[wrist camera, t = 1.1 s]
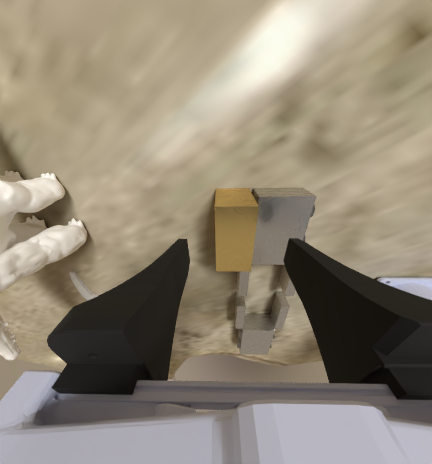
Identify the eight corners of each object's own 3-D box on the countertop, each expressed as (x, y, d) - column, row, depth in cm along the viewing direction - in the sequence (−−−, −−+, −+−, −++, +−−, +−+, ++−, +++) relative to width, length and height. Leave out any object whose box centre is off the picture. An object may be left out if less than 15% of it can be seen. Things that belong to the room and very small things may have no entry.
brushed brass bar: (248, 188, 15) (258, 206, 11) (244, 242, 18) (250, 271, 14) (216, 188, 15) (214, 206, 11) (216, 242, 18) (216, 271, 14)
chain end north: (283, 291, 22) (290, 308, 19) (269, 338, 28) (273, 354, 26) (235, 291, 22) (237, 307, 20) (232, 337, 28) (233, 353, 26)
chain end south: (313, 187, 14) (329, 196, 12) (286, 281, 21) (293, 297, 18) (242, 188, 15) (246, 197, 13) (236, 281, 21) (238, 297, 19)
